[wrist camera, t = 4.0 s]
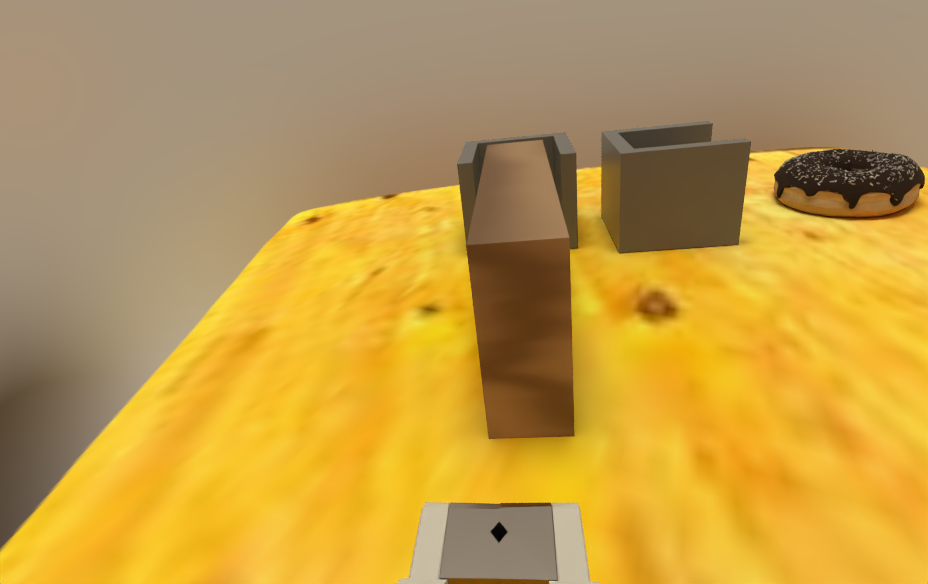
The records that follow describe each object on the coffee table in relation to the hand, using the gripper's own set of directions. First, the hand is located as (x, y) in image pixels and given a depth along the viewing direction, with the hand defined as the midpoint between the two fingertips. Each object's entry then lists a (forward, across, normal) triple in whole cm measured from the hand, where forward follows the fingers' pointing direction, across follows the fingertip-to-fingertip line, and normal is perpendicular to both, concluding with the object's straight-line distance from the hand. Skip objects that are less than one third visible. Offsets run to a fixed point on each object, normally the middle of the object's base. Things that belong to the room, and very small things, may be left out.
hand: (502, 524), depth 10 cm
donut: (+42, -30, +8) cm, 52 cm away
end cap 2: (+38, -14, +8) cm, 41 cm away
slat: (+22, -1, +9) cm, 24 cm away
